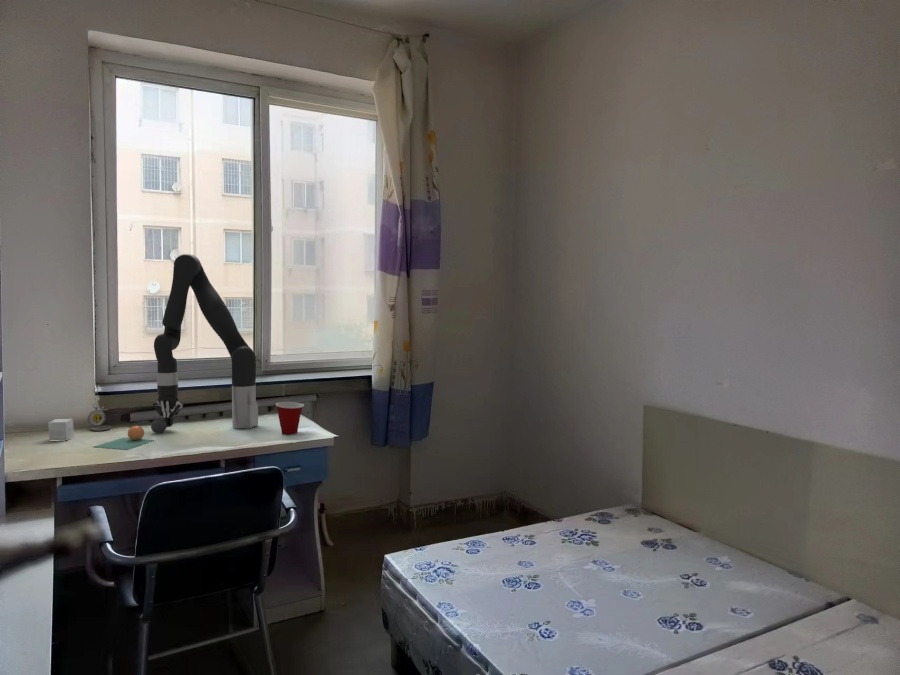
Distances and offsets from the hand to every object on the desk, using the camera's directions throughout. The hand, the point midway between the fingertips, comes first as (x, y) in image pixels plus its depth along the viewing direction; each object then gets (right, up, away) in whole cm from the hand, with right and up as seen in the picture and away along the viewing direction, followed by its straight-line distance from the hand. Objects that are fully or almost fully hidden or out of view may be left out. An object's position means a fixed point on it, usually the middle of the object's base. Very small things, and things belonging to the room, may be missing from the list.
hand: (168, 426), depth 240 cm
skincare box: (-32, -3, -17) cm, 36 cm away
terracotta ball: (-4, 0, -17) cm, 18 cm away
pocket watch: (-28, -1, 0) cm, 28 cm away
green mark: (-5, -3, -22) cm, 23 cm away
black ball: (-1, +1, -6) cm, 6 cm away
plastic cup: (+50, -3, -3) cm, 50 cm away
